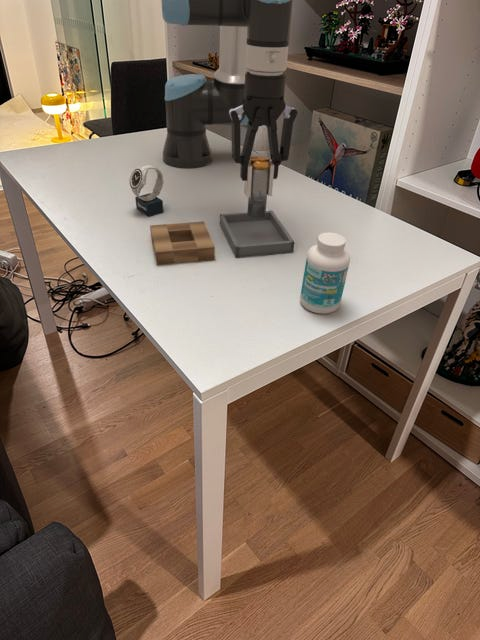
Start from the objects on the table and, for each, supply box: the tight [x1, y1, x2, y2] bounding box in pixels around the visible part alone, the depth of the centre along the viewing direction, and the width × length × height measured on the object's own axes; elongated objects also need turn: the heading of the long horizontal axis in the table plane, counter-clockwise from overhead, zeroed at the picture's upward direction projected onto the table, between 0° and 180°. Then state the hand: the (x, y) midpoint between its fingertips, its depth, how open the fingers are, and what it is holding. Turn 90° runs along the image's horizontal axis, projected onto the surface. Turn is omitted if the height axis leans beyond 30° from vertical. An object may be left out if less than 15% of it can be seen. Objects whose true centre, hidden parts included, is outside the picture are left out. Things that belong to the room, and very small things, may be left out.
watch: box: [129, 164, 165, 218], centre depth 111 cm, size 6×8×11 cm
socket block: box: [149, 220, 216, 266], centre depth 99 cm, size 12×12×3 cm
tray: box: [219, 210, 295, 259], centre depth 104 cm, size 16×13×2 cm
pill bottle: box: [299, 232, 351, 315], centre depth 82 cm, size 8×7×14 cm
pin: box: [247, 155, 271, 218], centre depth 98 cm, size 4×4×12 cm
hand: (257, 193), depth 99 cm, fingers closed on pin, 4 cm apart
